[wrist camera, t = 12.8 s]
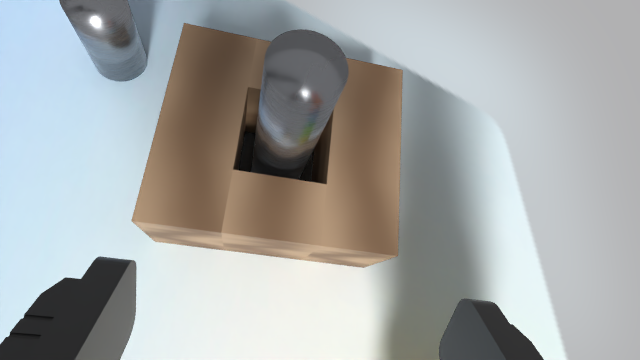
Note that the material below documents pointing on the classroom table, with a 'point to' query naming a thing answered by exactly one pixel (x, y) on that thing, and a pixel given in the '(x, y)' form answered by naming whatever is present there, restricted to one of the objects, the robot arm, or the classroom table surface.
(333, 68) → the long pin
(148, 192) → the bore block
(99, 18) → the short pin
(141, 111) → the classroom table surface
